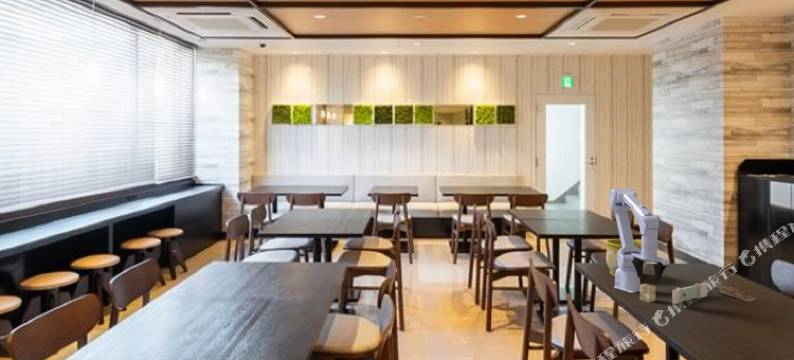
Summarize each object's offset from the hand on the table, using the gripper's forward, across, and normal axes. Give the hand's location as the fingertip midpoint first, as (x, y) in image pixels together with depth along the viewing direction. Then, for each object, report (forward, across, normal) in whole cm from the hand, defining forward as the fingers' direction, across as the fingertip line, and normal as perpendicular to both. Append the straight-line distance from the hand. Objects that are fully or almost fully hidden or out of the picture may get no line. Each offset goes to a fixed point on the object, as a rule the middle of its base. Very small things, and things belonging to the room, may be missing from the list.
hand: (648, 279), depth 202 cm
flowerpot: (+9, -29, +26) cm, 39 cm away
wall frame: (+8, +8, +14) cm, 18 cm away
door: (+8, +8, +14) cm, 18 cm away
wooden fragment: (+9, +12, +38) cm, 41 cm away
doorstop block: (+8, 0, 0) cm, 9 cm away
